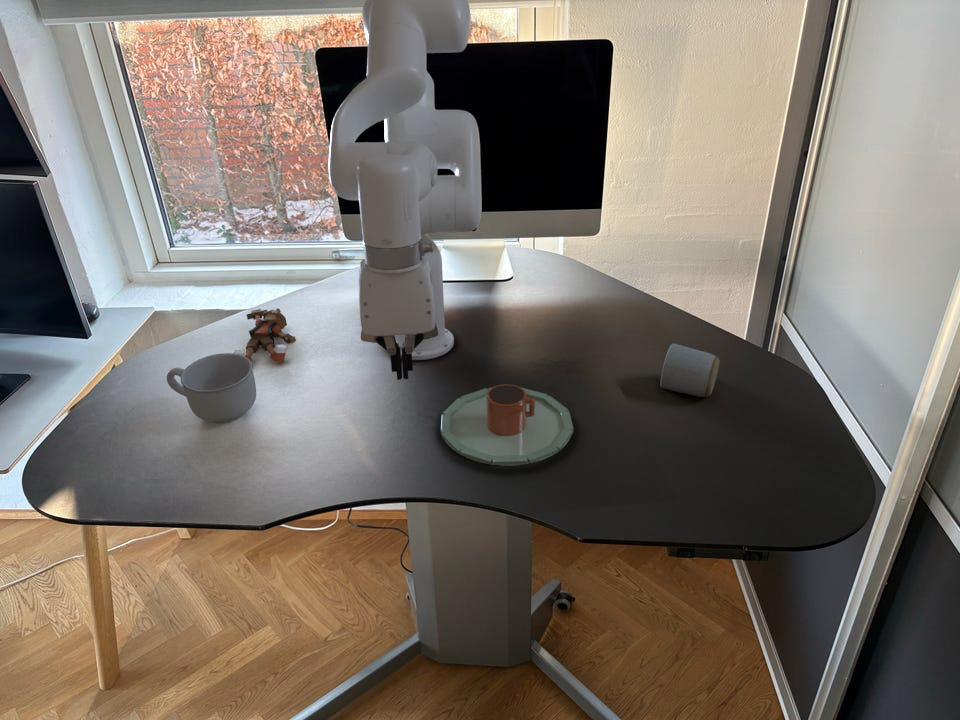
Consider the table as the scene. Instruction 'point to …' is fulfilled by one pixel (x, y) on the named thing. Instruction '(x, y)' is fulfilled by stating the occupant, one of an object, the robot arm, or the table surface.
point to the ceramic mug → (689, 371)
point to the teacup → (217, 386)
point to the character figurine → (267, 334)
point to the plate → (533, 444)
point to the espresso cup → (508, 409)
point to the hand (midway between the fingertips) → (402, 374)
